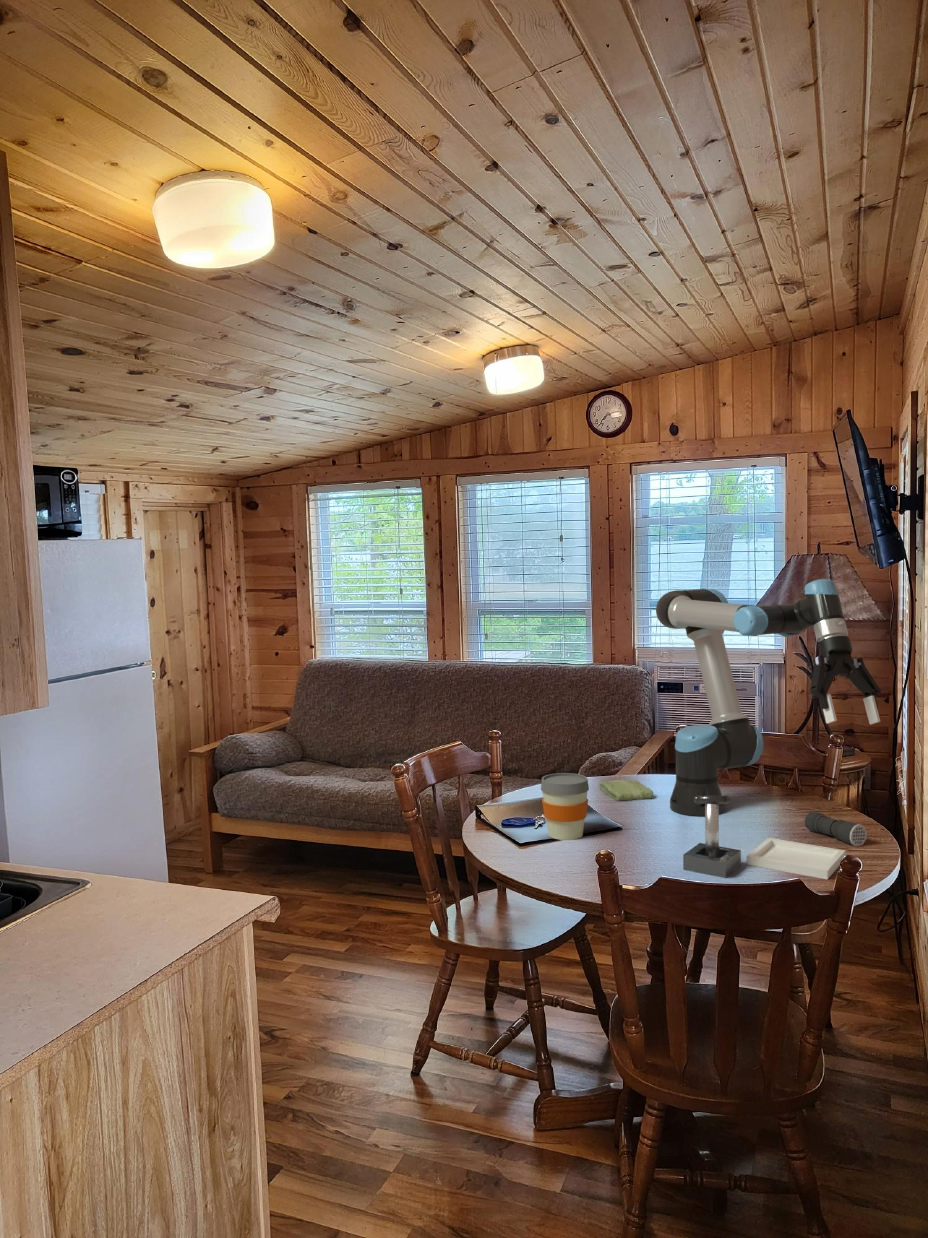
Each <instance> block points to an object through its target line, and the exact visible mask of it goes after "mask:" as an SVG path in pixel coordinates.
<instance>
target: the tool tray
mask: <svg viewBox="0 0 928 1238" xmlns="http://www.w3.org/2000/svg"><path fill="white" fill-rule="evenodd" d="M846 852H847V851H846V850H845V849H840V848H834V847H827V846H821V845H814V844H808V843H803V842H796V841H790V840H786V839H785V840H783V839H778V838H773V837H768V838H766V839H765V840H764V841H763V842H762V843H760V844H759V845H758V846H756V848H755V849H754V850H752V851H751V852H749V854H747V855H746V865H748V866H754V867H759V868H764V869H769V870H775V871H778V872H779V871H780V872H786V873H792V874H796V875H800V876H801V875H802V876H806V877H811V878H816V879H822V880H823V879H824V880H828V879H829V878H830V877H831V876H832V875H833V874H834V873H835V871H837V869H838V868H839V867H840V866H841V865H840V862H841V860H842V858H843V857H844V856H846V854H847V853H846Z"/></svg>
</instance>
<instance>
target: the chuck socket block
mask: <svg viewBox="0 0 928 1238" xmlns="http://www.w3.org/2000/svg"><path fill="white" fill-rule="evenodd" d="M682 857H683V858H682V862H683V863H682V865H683V866H682V867H683V868H682V869H683V870H685V871H687V872H688V871H689V872H694V873H698V874H699V873H700V874H705V875H707V876H708V875H709V876H713V877H714V876H715V877H719V878H725V879H726V878H727V877H728V876H730V875H731V874H732V873H733V872H735V871H736V870H737V869H738V868H740V867H741V865H742V850H741V849H738V848H737V849H736V848H731V847H727V846H720V845H719V858H715V857H709V856H706V849H705V843H703V842H699V843H698V844H696V845H695V846H693V847H692V848H691V849H689V850H687V851H686V852H685V853H684V854H682Z"/></svg>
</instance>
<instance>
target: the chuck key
mask: <svg viewBox="0 0 928 1238" xmlns="http://www.w3.org/2000/svg"><path fill="white" fill-rule="evenodd" d="M730 801H731V798H730V797H729V796H728V795H722V796H695V797H694V802H695V803H703V804H705V816H704V818H705V819H704V822H705V823H704V827H705V828H704V829H705V830H704V831H705V834H704V835H705V838H704V839H705V841H704V844H705V849H706V856H709V857H715V858H719V846H720V830H719V828H720V825H719V821H720V820H719V819H720V818H719V817H720V816H719V815H720V814H719V804H726V805H727V804H729V803H730Z"/></svg>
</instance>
